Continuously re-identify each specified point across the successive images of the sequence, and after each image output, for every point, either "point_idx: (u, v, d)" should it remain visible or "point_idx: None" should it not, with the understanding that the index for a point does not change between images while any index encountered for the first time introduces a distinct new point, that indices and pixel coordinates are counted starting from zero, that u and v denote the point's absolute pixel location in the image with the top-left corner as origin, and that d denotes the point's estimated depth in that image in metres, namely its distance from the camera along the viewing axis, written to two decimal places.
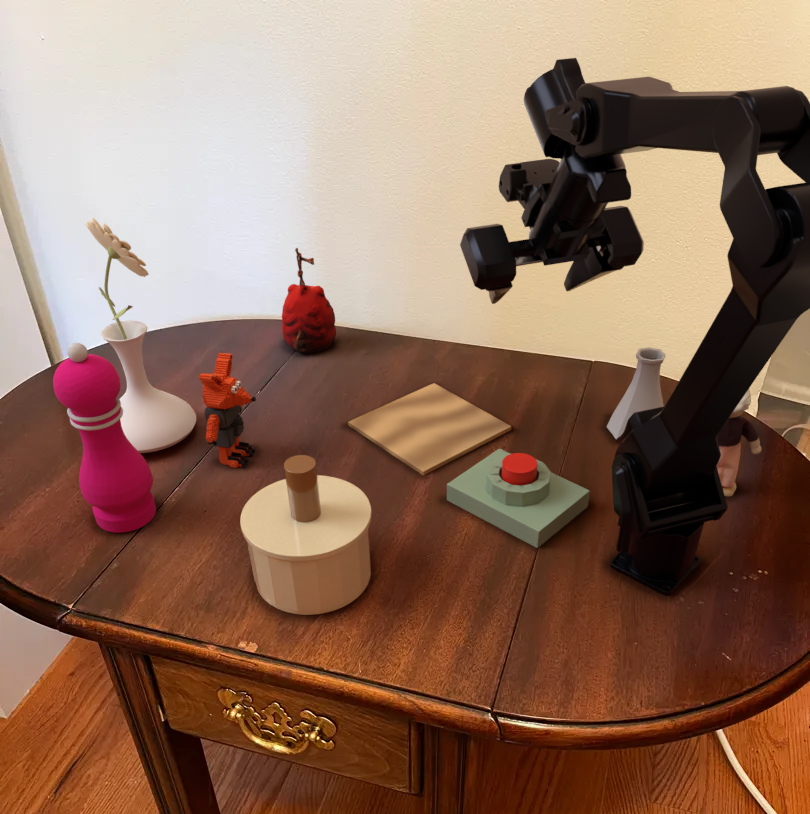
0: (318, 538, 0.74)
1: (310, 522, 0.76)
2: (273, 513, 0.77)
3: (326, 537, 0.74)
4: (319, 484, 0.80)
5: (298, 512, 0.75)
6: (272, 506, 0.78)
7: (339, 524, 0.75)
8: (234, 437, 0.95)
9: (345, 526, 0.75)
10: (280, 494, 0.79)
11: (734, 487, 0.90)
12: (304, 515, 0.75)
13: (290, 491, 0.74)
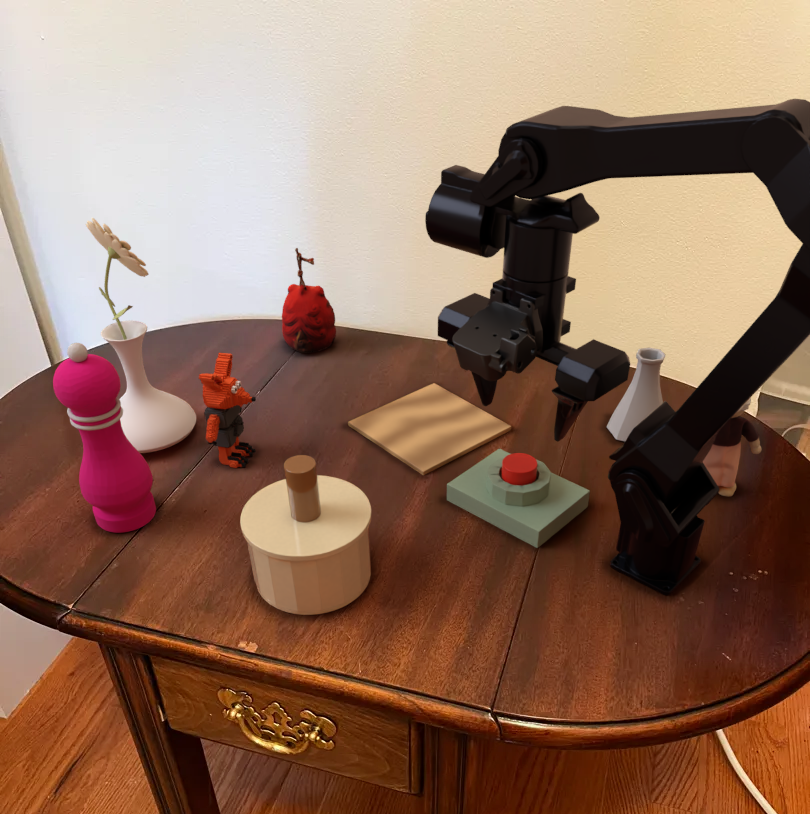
0: (318, 538, 0.74)
1: (310, 522, 0.76)
2: (273, 513, 0.77)
3: (326, 537, 0.74)
4: (319, 484, 0.80)
5: (298, 512, 0.75)
6: (272, 506, 0.78)
7: (339, 524, 0.75)
8: (234, 437, 0.95)
9: (345, 526, 0.75)
10: (280, 494, 0.79)
11: (734, 487, 0.90)
12: (304, 515, 0.75)
13: (290, 491, 0.74)
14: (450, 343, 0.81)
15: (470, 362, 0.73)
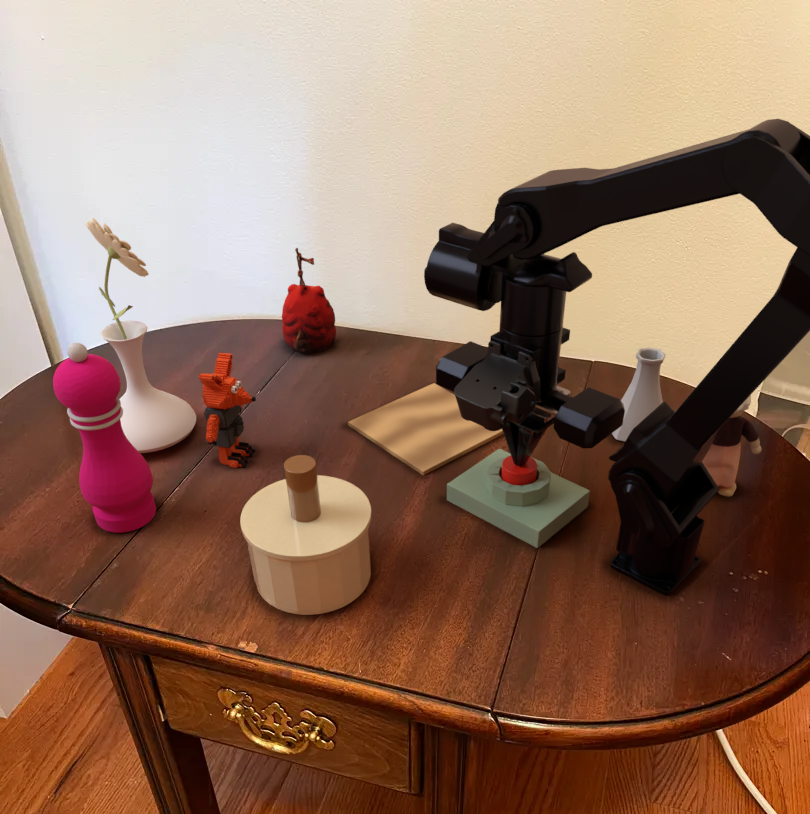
0: (318, 538, 0.74)
1: (310, 522, 0.76)
2: (273, 513, 0.77)
3: (326, 537, 0.74)
4: (319, 484, 0.80)
5: (298, 512, 0.75)
6: (272, 506, 0.78)
7: (339, 524, 0.75)
8: (234, 437, 0.95)
9: (345, 526, 0.75)
10: (280, 494, 0.79)
11: (734, 487, 0.90)
12: (304, 515, 0.75)
13: (290, 491, 0.74)
14: None
15: (472, 413, 0.76)
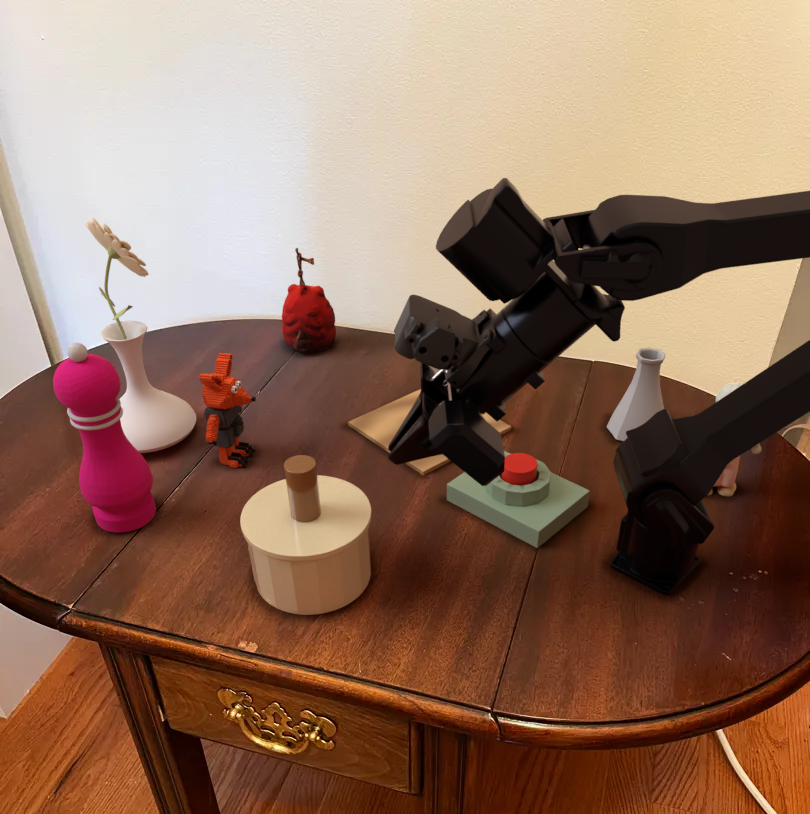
0: (318, 538, 0.74)
1: (310, 522, 0.76)
2: (273, 513, 0.77)
3: (326, 537, 0.74)
4: (319, 484, 0.80)
5: (298, 512, 0.75)
6: (272, 506, 0.78)
7: (339, 524, 0.75)
8: (234, 437, 0.95)
9: (345, 526, 0.75)
10: (280, 494, 0.79)
11: (734, 487, 0.90)
12: (304, 515, 0.75)
13: (290, 491, 0.74)
14: (423, 365, 0.71)
15: (401, 322, 0.65)
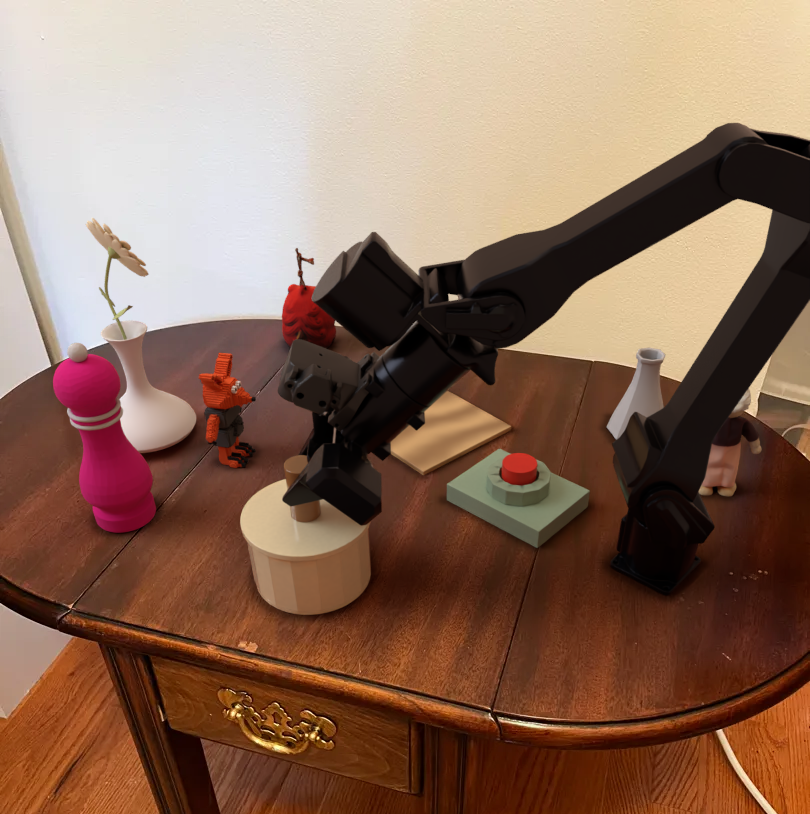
0: (318, 538, 0.74)
1: (310, 522, 0.76)
2: (273, 513, 0.77)
3: (326, 537, 0.74)
4: None
5: (298, 512, 0.75)
6: (272, 506, 0.78)
7: (339, 524, 0.75)
8: (234, 437, 0.95)
9: (345, 526, 0.75)
10: (280, 494, 0.79)
11: (734, 487, 0.90)
12: (304, 515, 0.75)
13: None
14: None
15: (284, 366, 0.67)
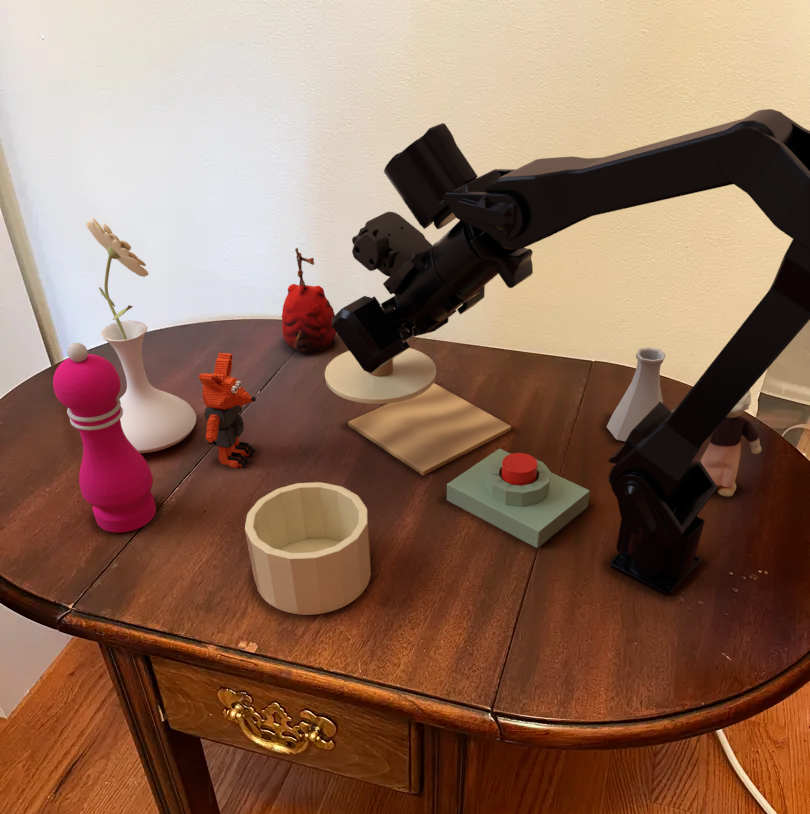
0: (369, 388, 0.87)
1: (376, 377, 0.89)
2: None
3: (375, 389, 0.87)
4: (411, 356, 0.92)
5: None
6: None
7: (393, 385, 0.87)
8: (234, 437, 0.95)
9: (396, 388, 0.87)
10: None
11: (734, 487, 0.90)
12: None
13: None
14: None
15: None
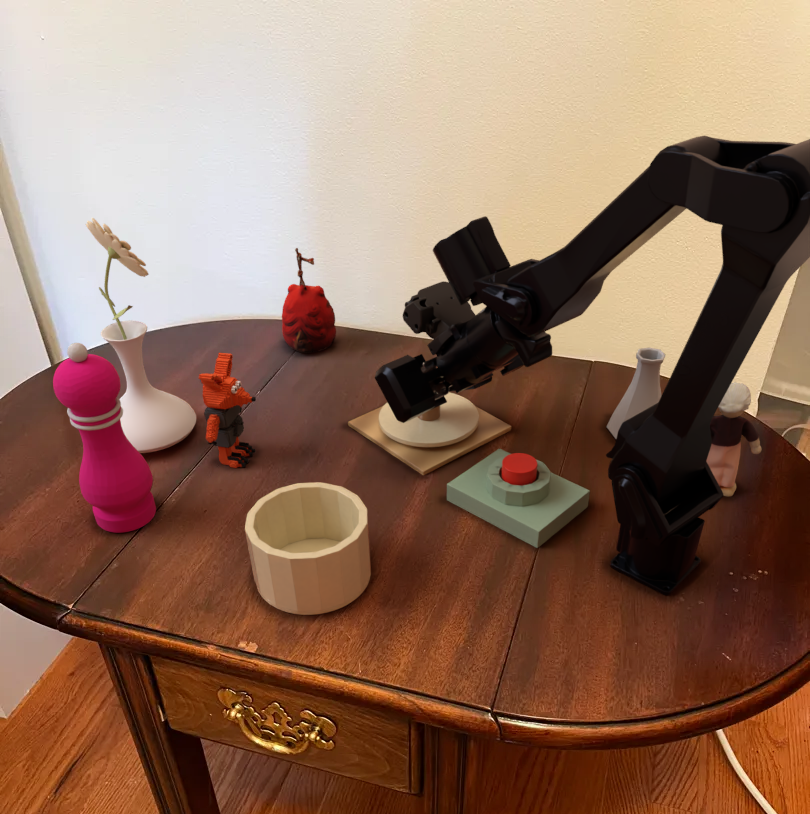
0: (412, 431, 0.97)
1: (422, 421, 0.99)
2: None
3: (417, 433, 0.97)
4: (461, 405, 1.02)
5: None
6: None
7: (434, 431, 0.97)
8: (234, 437, 0.95)
9: (436, 434, 0.97)
10: None
11: (734, 487, 0.90)
12: None
13: None
14: None
15: None
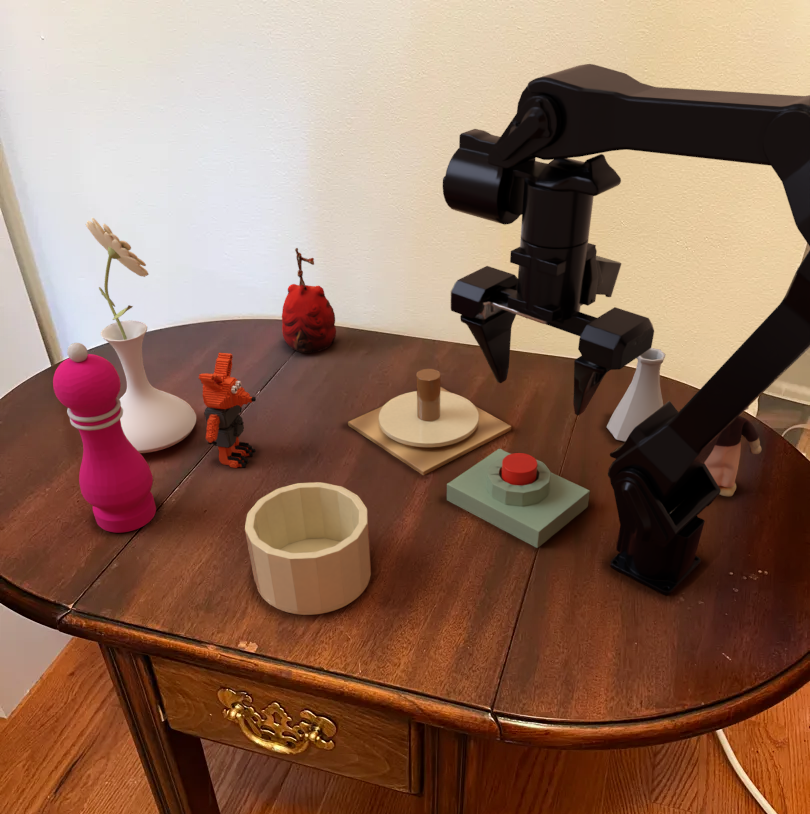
0: (412, 431, 0.97)
1: (422, 421, 0.99)
2: (413, 405, 1.02)
3: (417, 433, 0.97)
4: (461, 405, 1.02)
5: (417, 409, 0.99)
6: None
7: (434, 431, 0.97)
8: (234, 437, 0.95)
9: (436, 434, 0.97)
10: None
11: (734, 487, 0.90)
12: (420, 413, 0.99)
13: (416, 391, 0.98)
14: None
15: None
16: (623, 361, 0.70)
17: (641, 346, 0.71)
